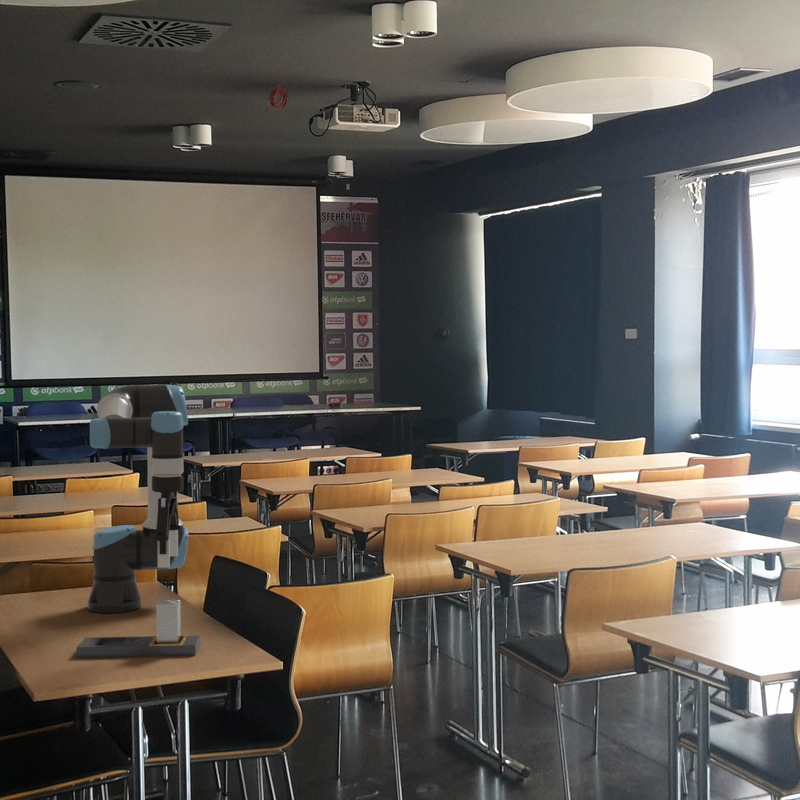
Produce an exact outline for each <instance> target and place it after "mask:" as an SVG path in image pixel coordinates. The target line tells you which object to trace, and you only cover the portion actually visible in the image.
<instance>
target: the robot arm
mask: <svg viewBox="0 0 800 800" xmlns="http://www.w3.org/2000/svg"><path fill="white" fill-rule="evenodd" d="M96 413H97V418H92V419H91V420H90V421H89V444H90V447H91V448H93V449H102V450H103V449H104V450H107V449H125V448H126V449H128V448H129V449H130V448H135V449H136V448H137V449H138V448H139V449H141V448H147V519H145V521H144V522H143V523H142V529H138V530H137V529H136V527H135V525H134V524H133V525H132V524H123V525H116V526H110V527H106V528H102V529H100V530H98V531H97V532H95V534H94V536H93V546H92V550H93V584H92V586H91V590H90V593H89V596H88V599H87V610H88V611H89V612H92V613H101V614H105V613H106V614H115V613H125V611H126V612H131V611H135V610H137V609H140V608H141V607H143V606H142V605H143V603H142V602H143V601H142V595H141V592H140V590H139V587H138V584H137V581H136V571H152V570H153V571H154V570H167V571H168V570H170V569H171V570H172V569H179V568H182V567H183V566H184V564H185V562H186V557H187V553H188V543H189V529H188V528H186V527H184V522H183V520H181V518H179V492H182V491H183V490H184V476H183V475H182V474H183V473H184V471H185V469H184V426H188V425H189V417H188V409H187V402H186V397H185V391H184V388H183V387H182V386H180V385H176V384H175V385H174V384H145V385H144V384H139V385H137V384H131V385H130V384H129V385H124V386H119V387H117V388H114V389H112V390H110V391H108V392H106V393H105V394H104V395H102V397H101V398H100V399H99V401H98V403H97V406H96Z"/></svg>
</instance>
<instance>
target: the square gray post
mask: <svg viewBox="0 0 800 800" xmlns="http://www.w3.org/2000/svg"><path fill="white" fill-rule="evenodd" d="M155 605H156V635H157V644H180V643H181V635H182V634H181V632H182V631H181V629H182V627H181V621H182V620H181V599H160V600H158V602H157V603H156V604H155Z"/></svg>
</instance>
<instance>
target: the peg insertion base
mask: <svg viewBox="0 0 800 800" xmlns="http://www.w3.org/2000/svg"><path fill="white" fill-rule="evenodd" d="M200 647H201V635H200V634H199V635H188V634H181V643H180V644H157V634H156V635H152V636H104V637H103V636H101V637H100V636H99V637H96V636H95V637H92V636H91V637H85V638H84V639H83V640H82V641H81V642H80V643H79V644H78V645H77V646H76V659H77V658H78V659H80V658H81V659H82V658H84V659H85V658H87V659H89V658H128V657H131V658H133V657H177V656H178V657H179V656H180V657H181V656H196V655H197V653H198V651H199V648H200Z"/></svg>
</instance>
